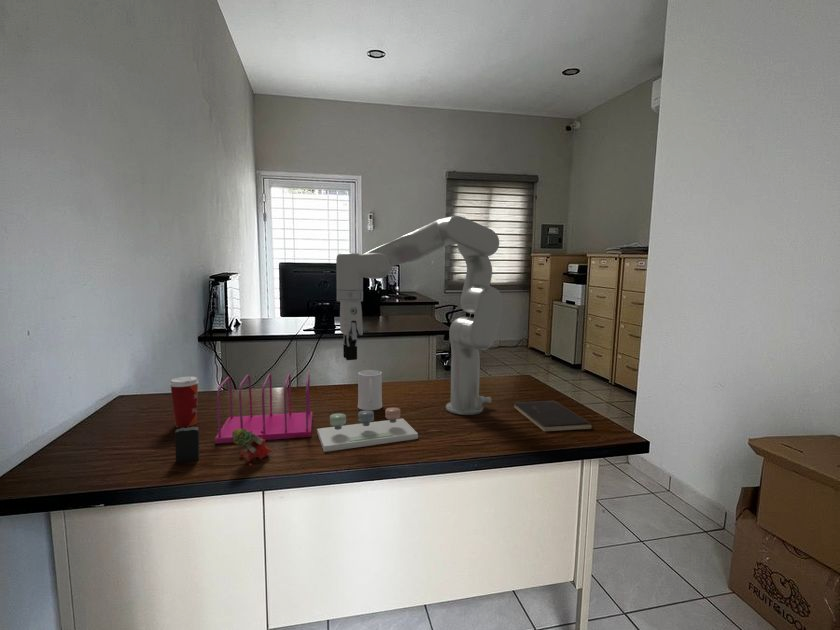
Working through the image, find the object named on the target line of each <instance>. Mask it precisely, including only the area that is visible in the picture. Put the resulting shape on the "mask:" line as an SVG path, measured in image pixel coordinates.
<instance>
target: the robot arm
mask: <svg viewBox="0 0 840 630" xmlns="http://www.w3.org/2000/svg"><path fill="white" fill-rule="evenodd" d="M450 245H457V246H456V247H457V250H458V252H459V253H460V255H461V256H462V258H463V260H464V261H465V264H466V265H465V266H466V273H465V280H464V282H463V286H462V287H463V288H462V292H461V296H460V307H461V309H462V310H463V311H464V312H465V313H467V314H472V315H474V316H473V317H469V316H461V317H458V318H455V319H454V320H453V321H452V323H451V324H450V326H449V331H448V332H449V336H448V337H449V342H450V348H451V350H450V352H451V353H450V354H451V363H450V364H451V365H450V402H448V403H446V404H445V410H446V411H448V412H449V413H452V414H455V415H460V416H474V415H478V414H480V413H482V412H483V411H484V406H483V405H484V404H485V403H486V404H487V403H489V404H490V403H492V397H491V396H484V395H480V367H481V366H480V365H481V362H480V361H481V358H480V356H481V355H480V351H485V350H488V349H489V348H490V347H491V346H492V345H493V344H494V342H495V340H496V337H497V333H498V330H499V325H500V322H501V321H500V320H501V317H502V312H503V308H504V300H503V295H502V293H501V292H500V291H499V290H498V289H497V288H495V287H493V286H491V282H492V276H493V266H492V265H493V264H492V263H491V260H490V258H489V257H491V256H493V255H494V254H495V253H496V252H498V250H499V248H500V238H499V236H498V235H497V233H496V232H495V231H494V230H492V229H491V228H488V227H487V226H484V225H483V224H480V223H478V222H476V221H474V220H471V219H468V218H466V217H465V216H459V215H452V216H447V217H443V218H439V219H437V220H435V221H432V222H429V224H426V225H423V226H421V227H420V228H417V229H415V230H413V231H411V232H409V233H407V234H404V235H402V236H400V237H398V238H395V239H394V240H391V241H389V242H387V243H385V244H384V243H383V245H382V244H381V245H380V246H377V247H375V248H373V249H371V250H369V251H367V252H365V253H363V254H362V253H359V252H358V253H357V252H341V253H338V254H337V255H336V266H335V267H336V302H339V303H340V305H339V328H340V332H341V333H342V334H343V344H342V345H343V348H342V349H343V358H344V359H345V360H346V361H356V360H358V336H363V333H364V331H363V330H364V329H363V310H362V303H361V302H363V301H364V278H365V279H374V280H377V279H379V280H380V279H383V278H385V277H387V276H388V275H389V274H390V273H391V271H392V267H395V266H398V265H400V264H405V263H406V264H407V263H412V262H416V261H419V260H421V259H423V258H426V257H427V256H429V255H430V254H433V253H435V252H436V251H438V250H441V249H443V248H445V247H447V246H450Z"/></svg>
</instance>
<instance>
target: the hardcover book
mask: <svg viewBox="0 0 840 630" xmlns="http://www.w3.org/2000/svg"><path fill="white" fill-rule="evenodd" d="M512 404H514V406H513V407H514V408H515V409H516V410H517V411H518V412H519V413H521V415H523V416H524V417H525V418H527V420H528V419H529V421H530V422H531V423H533V424H534V425H535V426H537V427H539V428H540V430H542V431H543V432H557V431H572V430H586V429H587V430H593V424H592V423H591V422H590V421H588V420H587V419H585V418H583V417H582V416H580V415H579V414H576V413H575V412H573V411H572V410H570V409H569V408H567V407H566V406H564V405H562V404H561V403H559V402H558V401H556V400H535V401H534V400H533V401H516V402H515V401H513V402H512Z"/></svg>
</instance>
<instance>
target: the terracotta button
mask: <svg viewBox="0 0 840 630" xmlns="http://www.w3.org/2000/svg"><path fill="white" fill-rule="evenodd" d="M384 410H385V416H384V417H385V418H386V419H387V420H389V422H391V423H395V422H396V419H401V411H402V410H401V409H400V408H398V407H387V408H386V409H384Z"/></svg>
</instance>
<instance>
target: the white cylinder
mask: <svg viewBox="0 0 840 630" xmlns="http://www.w3.org/2000/svg"><path fill="white" fill-rule="evenodd" d="M357 377H358V379H357V383H358V385H357V386H358V387H357V389H358V390H357V392H358V395H357V399H358V401H357V402H358V403H357V408H358V409H360V410H361V411H365V410H368V411H375V410H380V409H381V408H383V399H382V398H383V395H382V394H383V392H382V391H383V390H382V389H383V380H382V379H383V372H382V371H380V370H378V369H377V370H376V369H365V370H361V371H359V372H357Z"/></svg>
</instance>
